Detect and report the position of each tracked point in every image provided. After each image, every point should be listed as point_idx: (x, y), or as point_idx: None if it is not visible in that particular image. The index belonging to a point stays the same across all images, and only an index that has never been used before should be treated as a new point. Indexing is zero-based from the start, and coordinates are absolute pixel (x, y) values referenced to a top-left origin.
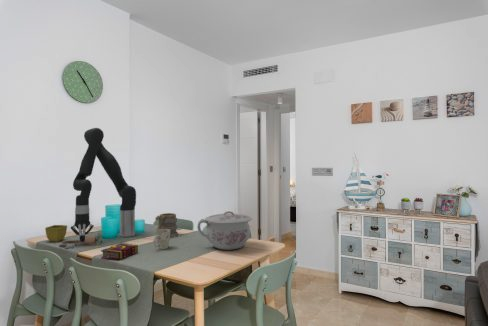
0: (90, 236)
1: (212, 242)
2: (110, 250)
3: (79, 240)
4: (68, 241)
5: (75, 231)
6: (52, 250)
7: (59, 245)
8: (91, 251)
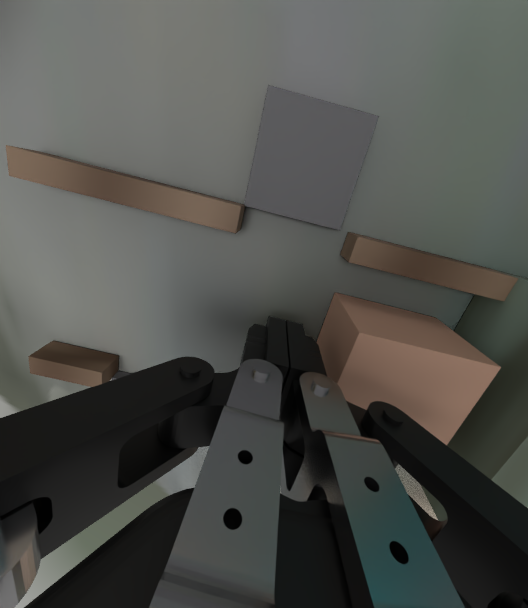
0: (402, 387)
1: None
2: None
3: (262, 142)
4: (101, 196)
5: (117, 487)
6: (18, 411)
7: (35, 372)
8: None
